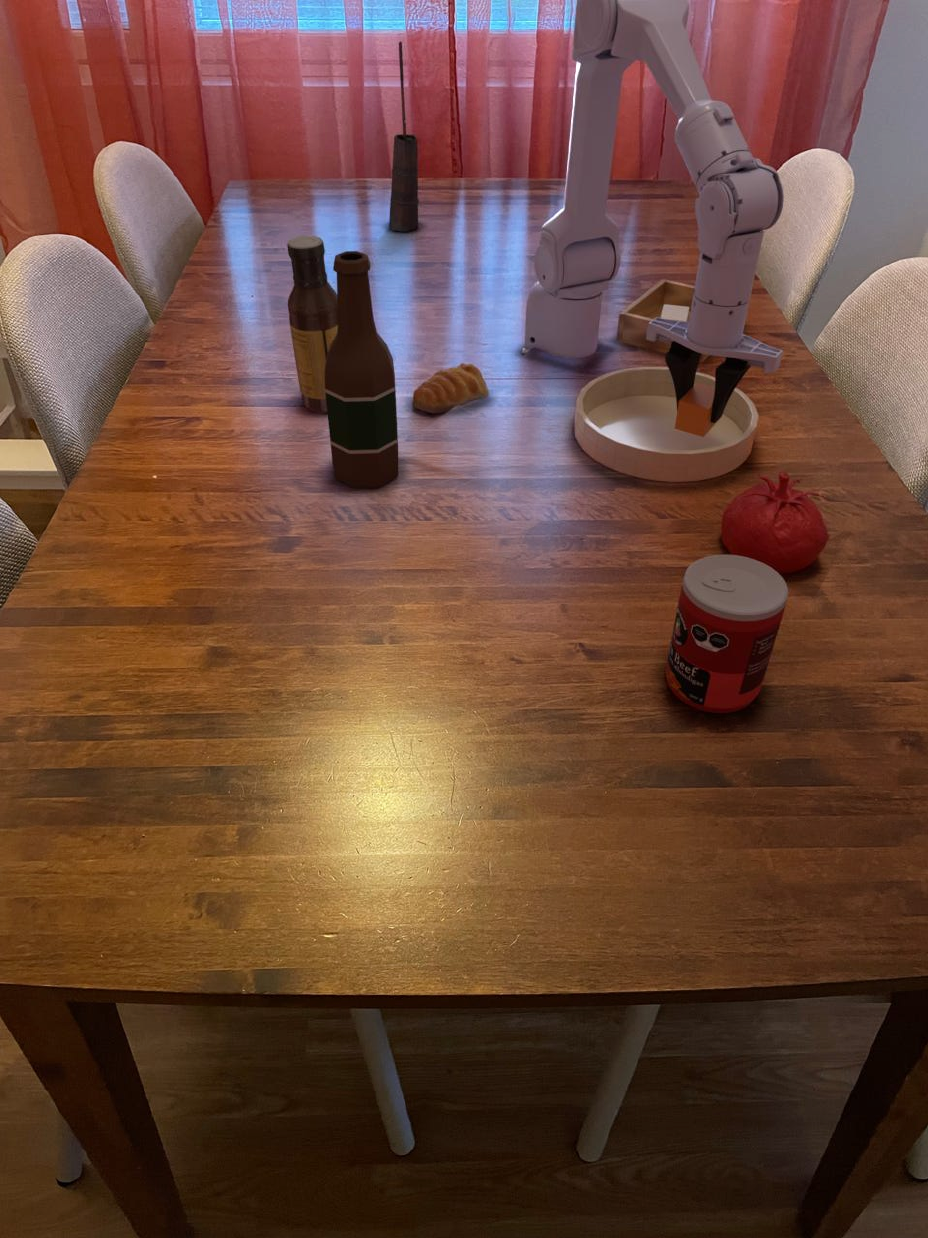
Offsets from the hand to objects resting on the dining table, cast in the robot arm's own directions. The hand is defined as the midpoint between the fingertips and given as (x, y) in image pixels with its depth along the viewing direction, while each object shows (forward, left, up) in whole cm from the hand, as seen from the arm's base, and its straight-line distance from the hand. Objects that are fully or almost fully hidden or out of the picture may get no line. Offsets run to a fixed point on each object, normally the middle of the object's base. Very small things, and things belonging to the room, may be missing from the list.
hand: (699, 413), depth 106 cm
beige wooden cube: (-14, +26, -4) cm, 30 cm away
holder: (-14, +29, -5) cm, 33 cm away
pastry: (-30, -5, -5) cm, 31 cm away
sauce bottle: (-43, -14, -5) cm, 45 cm away
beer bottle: (-29, -24, -5) cm, 38 cm away
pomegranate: (+14, -15, -5) cm, 21 cm away
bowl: (-4, 0, -5) cm, 6 cm away
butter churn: (-71, +43, -5) cm, 83 cm away
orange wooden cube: (0, 0, -1) cm, 1 cm away
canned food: (+16, -35, -5) cm, 39 cm away
